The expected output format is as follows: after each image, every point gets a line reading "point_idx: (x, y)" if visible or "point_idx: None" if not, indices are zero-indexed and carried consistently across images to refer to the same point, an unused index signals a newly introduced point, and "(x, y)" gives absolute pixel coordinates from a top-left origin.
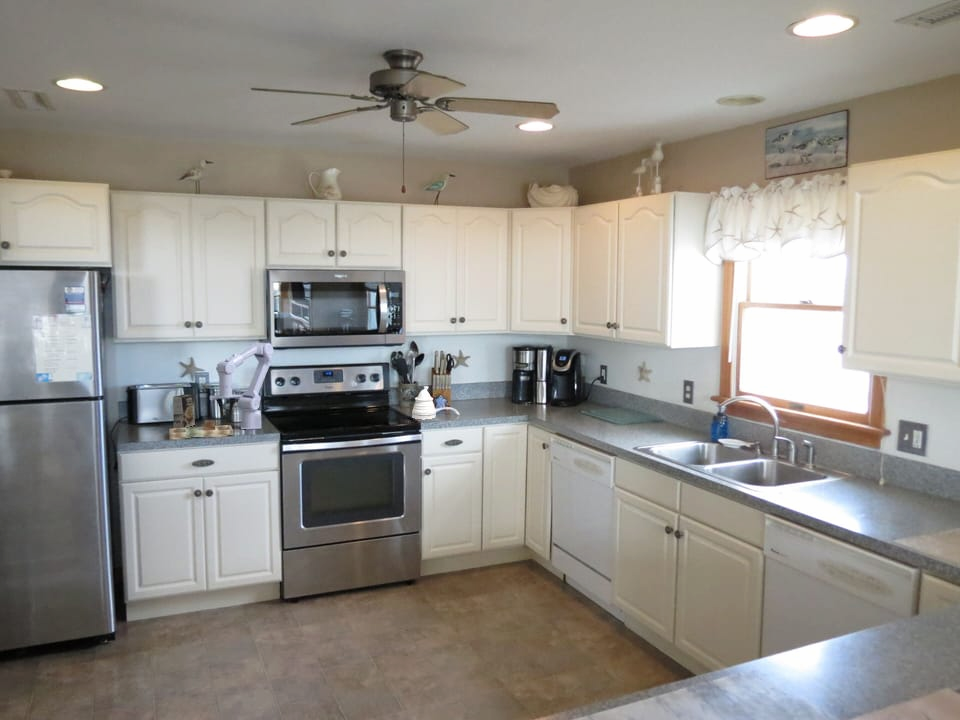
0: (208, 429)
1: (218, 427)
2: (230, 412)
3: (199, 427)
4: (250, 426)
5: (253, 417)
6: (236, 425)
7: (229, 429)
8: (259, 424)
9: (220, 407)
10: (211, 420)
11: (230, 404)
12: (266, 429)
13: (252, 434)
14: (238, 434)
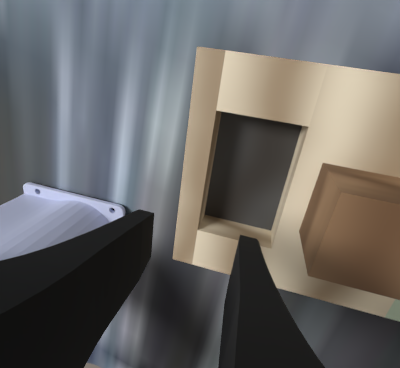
0: (384, 177)
1: (261, 244)
2: (135, 216)
3: (395, 299)
4: (68, 205)
5: (3, 235)
6: (136, 316)
7: (213, 114)
8: (16, 202)
9: (279, 315)
10: (350, 260)
11: (37, 289)
12: (3, 155)
13: (76, 39)
14: (163, 86)
